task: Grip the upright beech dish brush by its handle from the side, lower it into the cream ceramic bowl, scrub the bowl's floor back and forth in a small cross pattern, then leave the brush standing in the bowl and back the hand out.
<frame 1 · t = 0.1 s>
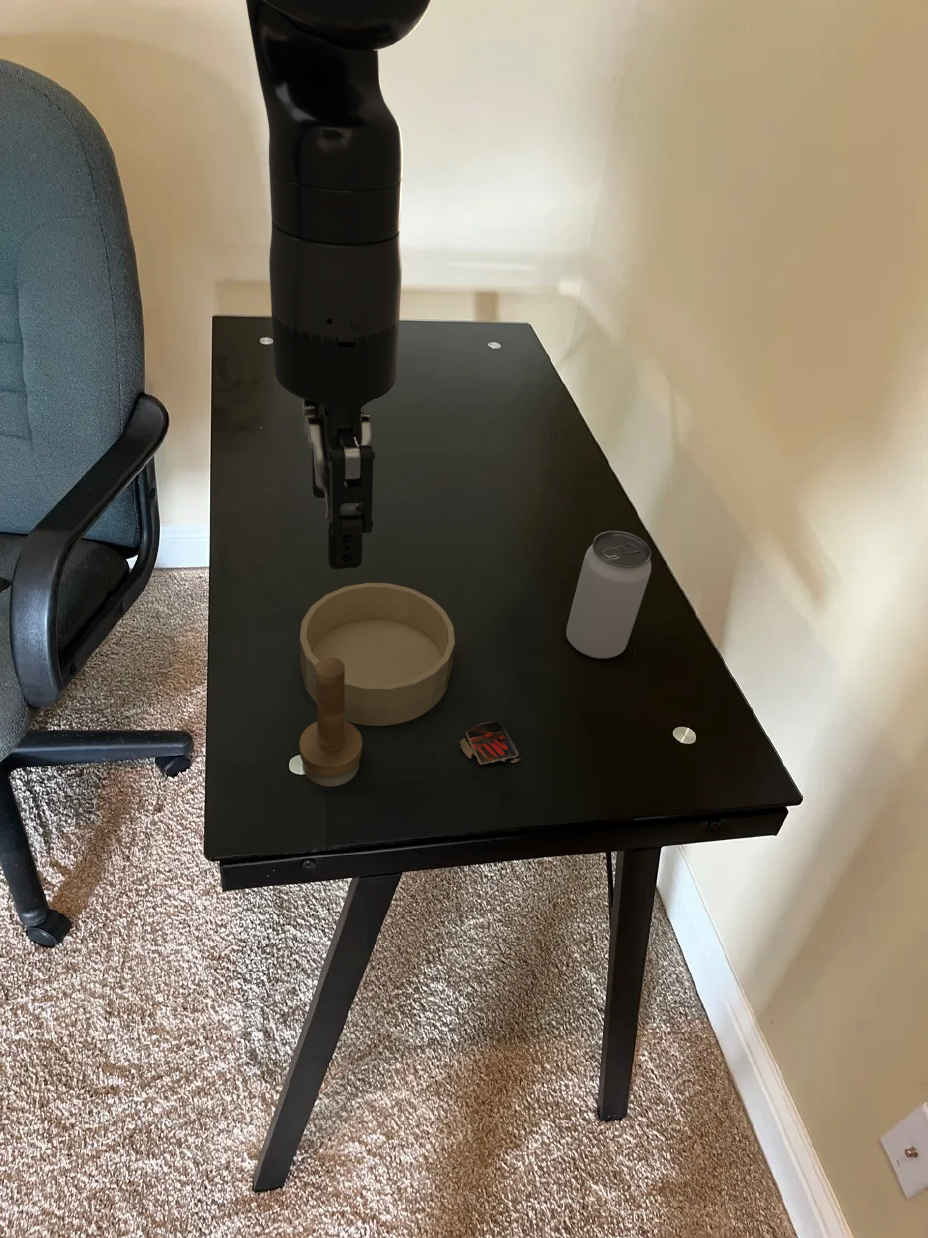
hand: (335, 528, 59), 22 cm above the table, tool pointing down, fingers open, 8 cm apart
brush: (331, 764, 71), on the table
can: (595, 640, 86), on the table
bowl: (376, 669, 80), on the table
small printed card: (487, 747, 74), on the table
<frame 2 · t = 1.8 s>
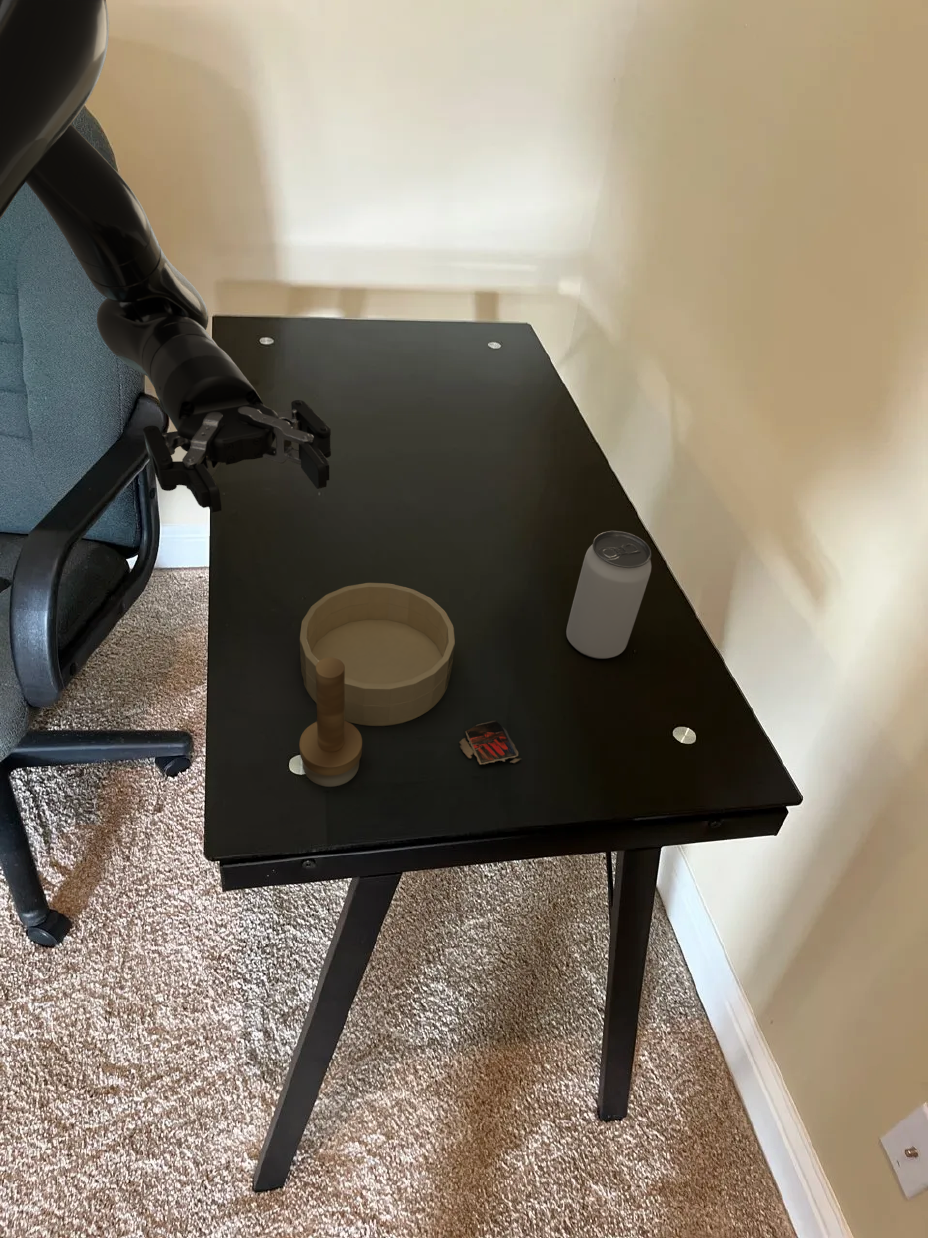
hand: (271, 490, 64), 21 cm above the table, tool horizontal, fingers open, 8 cm apart
nothing on the table moved.
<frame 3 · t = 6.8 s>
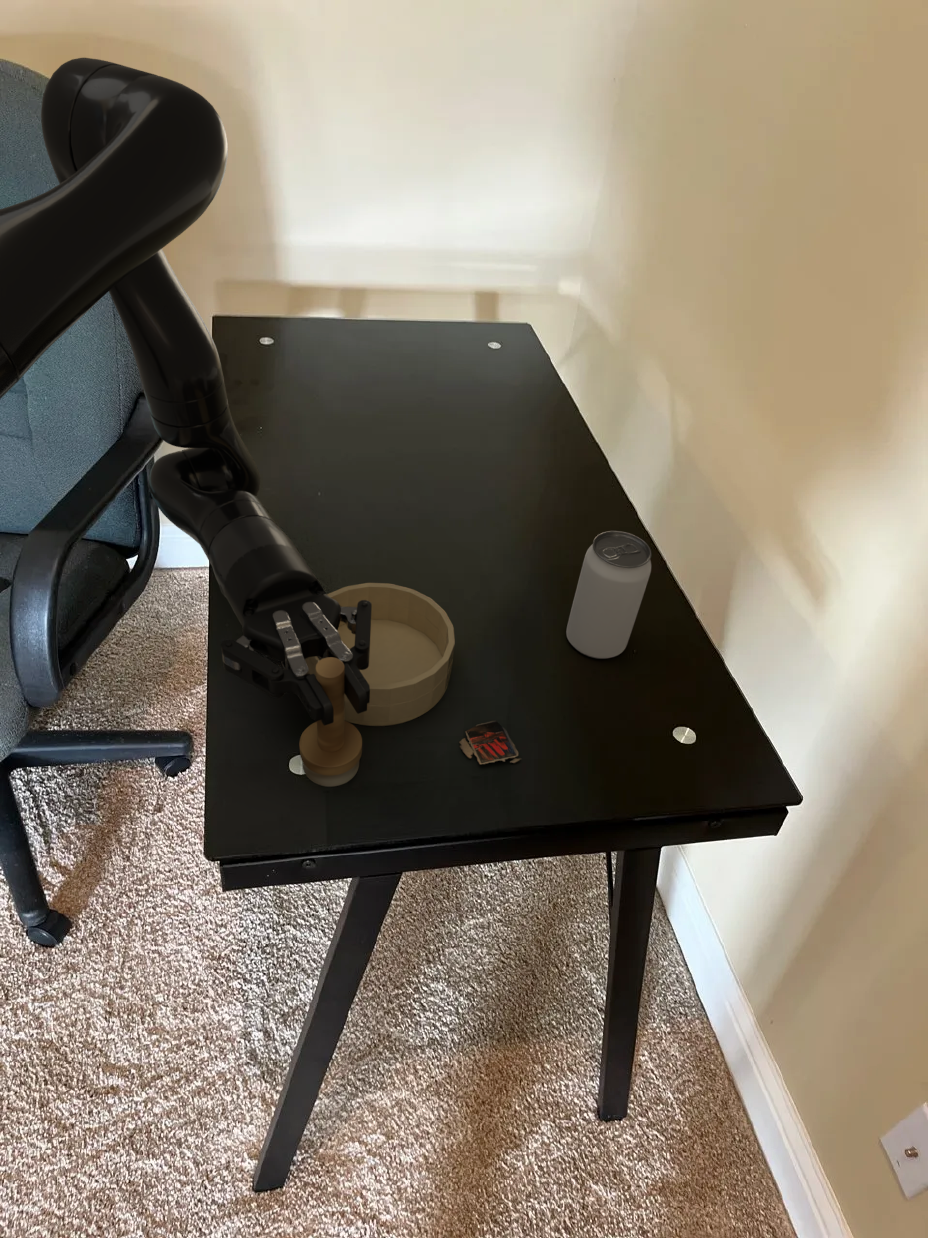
hand: (346, 710, 63), 10 cm above the table, tool horizontal, fingers closed on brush
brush: (331, 764, 71), on the table, touching gripper
everything else where it was.
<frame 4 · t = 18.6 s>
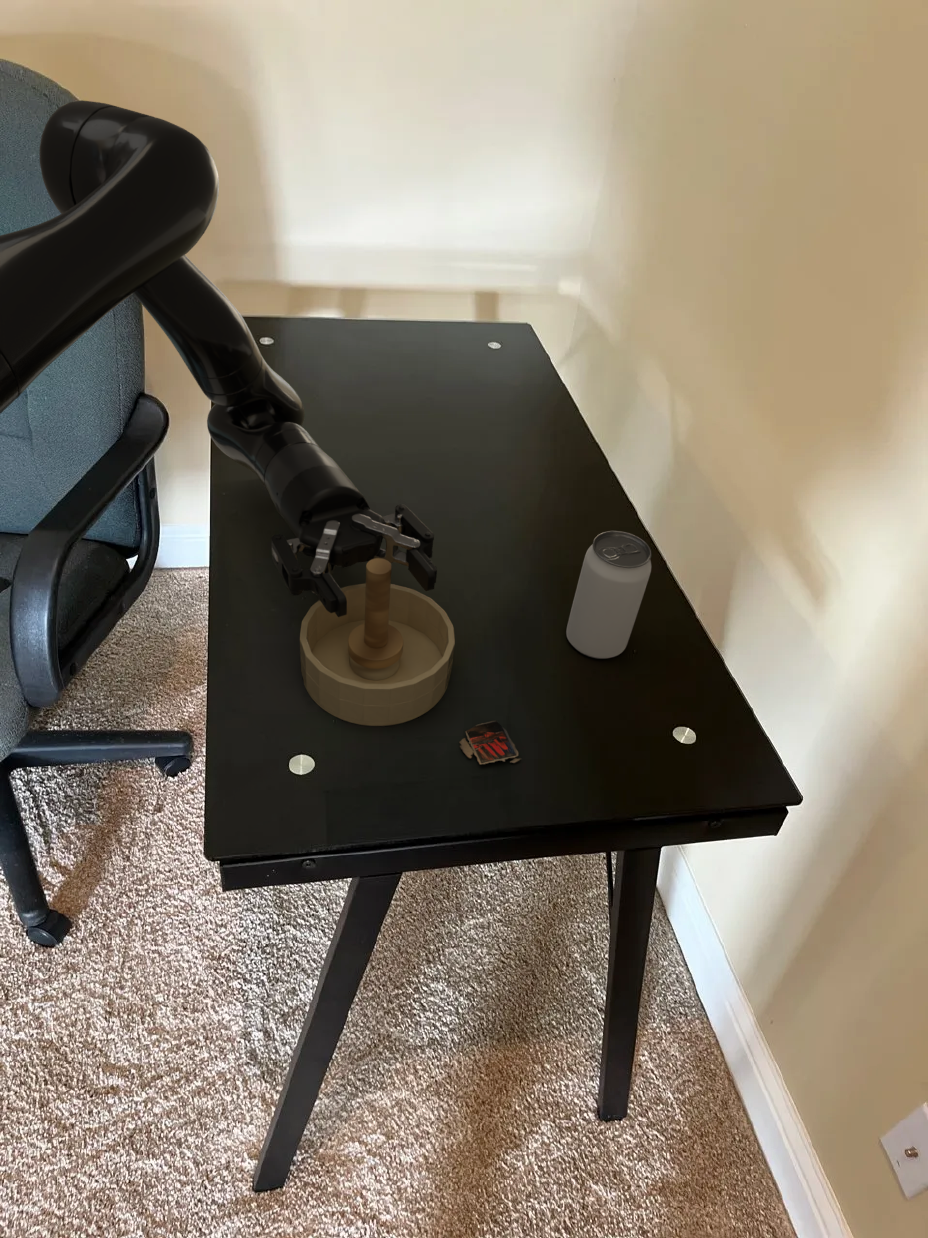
hand: (388, 595, 72), 11 cm above the table, tool horizontal, fingers open, 8 cm apart
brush: (374, 662, 80), point 1 cm above the table, touching bowl
everything else where it was.
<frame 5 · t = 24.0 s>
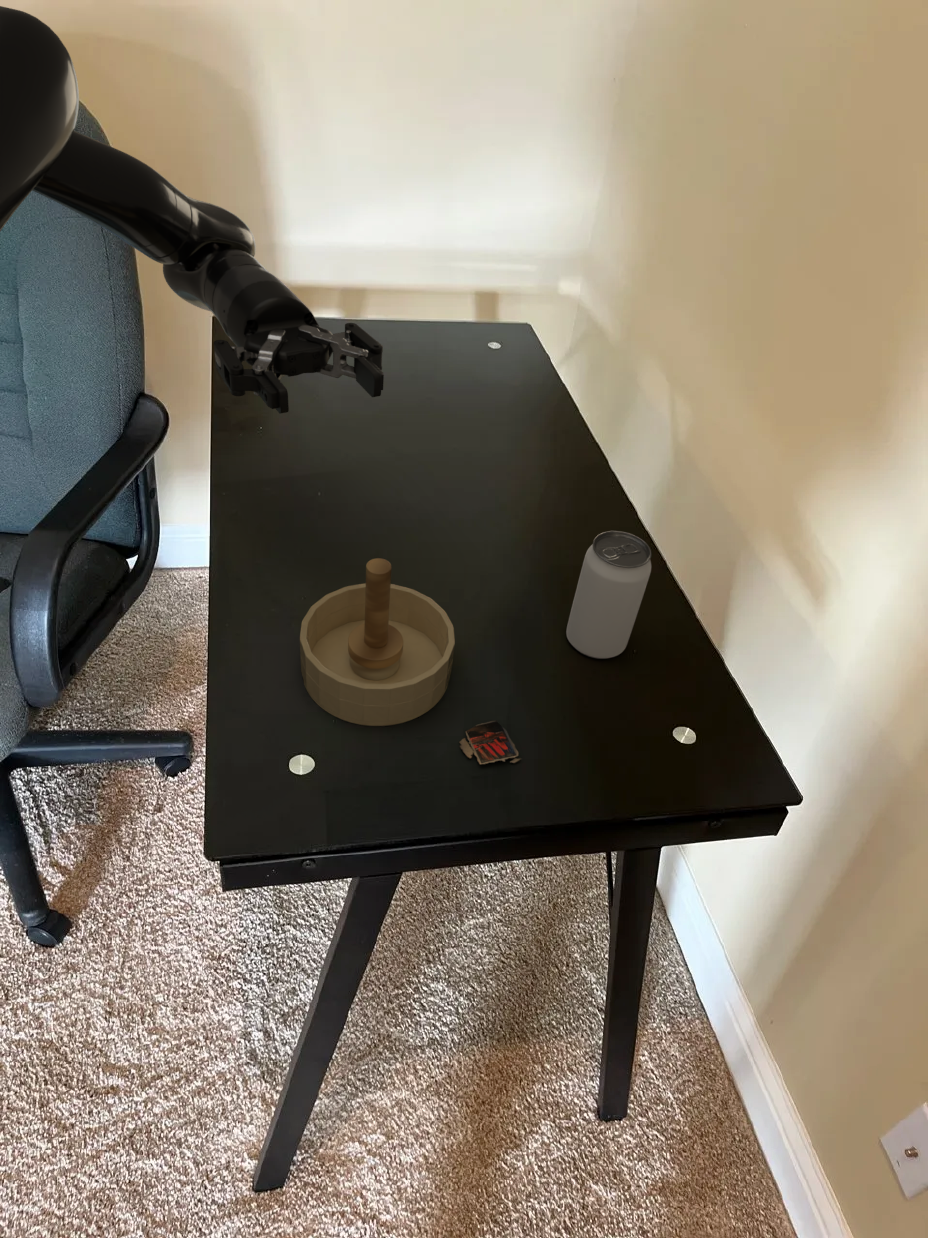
hand: (332, 394, 70), 24 cm above the table, tool horizontal, fingers open, 8 cm apart
nothing on the table moved.
at the end: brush inside the target area in the bowl (0.4 cm from its centre), point 0.6 cm above the bowl's base; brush tilted 0°; the gripper is holding nothing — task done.
